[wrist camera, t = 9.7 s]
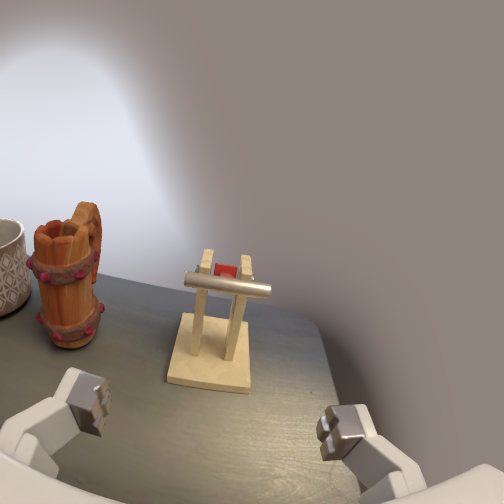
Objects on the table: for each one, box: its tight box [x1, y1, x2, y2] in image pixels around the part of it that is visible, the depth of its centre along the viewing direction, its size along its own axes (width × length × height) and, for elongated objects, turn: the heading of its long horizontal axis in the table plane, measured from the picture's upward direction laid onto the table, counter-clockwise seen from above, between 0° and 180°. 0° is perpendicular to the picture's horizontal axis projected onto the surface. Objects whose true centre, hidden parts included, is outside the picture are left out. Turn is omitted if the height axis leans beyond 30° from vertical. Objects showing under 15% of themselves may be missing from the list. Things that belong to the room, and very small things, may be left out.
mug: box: [26, 202, 105, 348], centre depth 30 cm, size 15×8×15 cm, turn 4°
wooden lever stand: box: [167, 249, 254, 394], centre depth 32 cm, size 12×9×13 cm
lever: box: [184, 263, 271, 299], centre depth 26 cm, size 12×6×2 cm, turn 2°
